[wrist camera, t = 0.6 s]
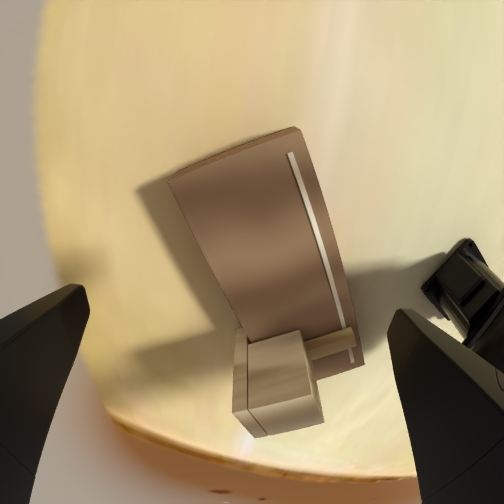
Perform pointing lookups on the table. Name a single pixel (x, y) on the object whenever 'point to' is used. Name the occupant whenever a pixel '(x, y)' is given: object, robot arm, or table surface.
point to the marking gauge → (280, 380)
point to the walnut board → (271, 242)
